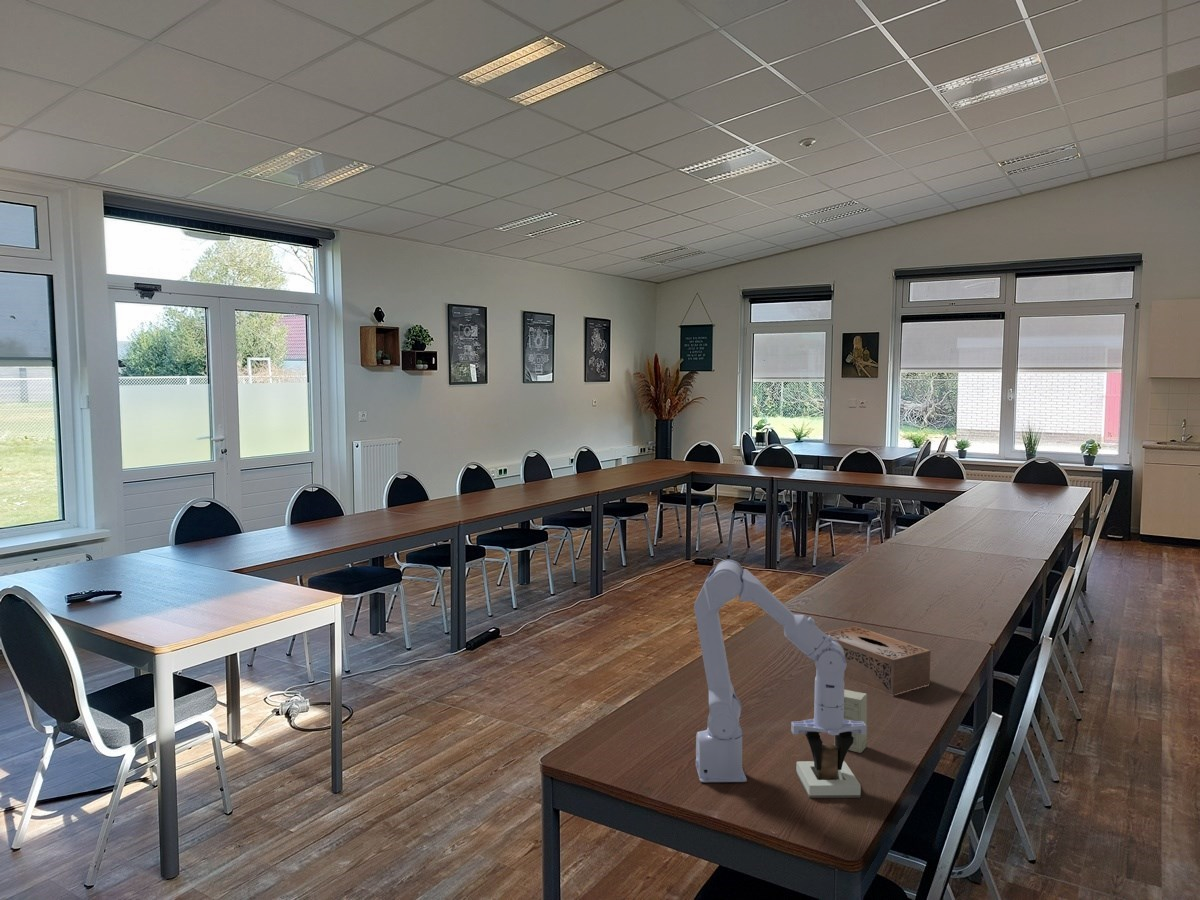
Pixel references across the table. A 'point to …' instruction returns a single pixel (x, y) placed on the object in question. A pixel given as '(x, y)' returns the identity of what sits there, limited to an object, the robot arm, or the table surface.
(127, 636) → the table surface
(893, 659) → the tissue box cover
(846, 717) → the skincare box
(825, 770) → the pin
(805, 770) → the socket block
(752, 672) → the table surface
